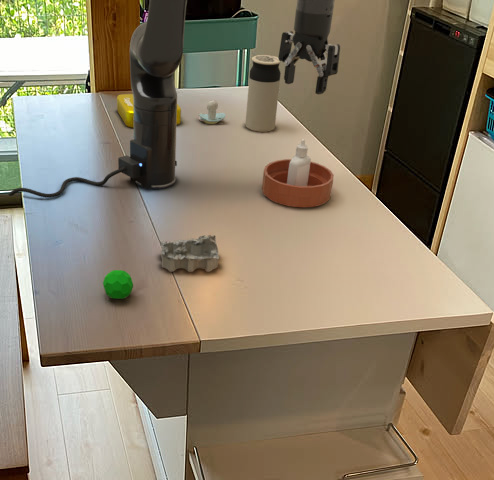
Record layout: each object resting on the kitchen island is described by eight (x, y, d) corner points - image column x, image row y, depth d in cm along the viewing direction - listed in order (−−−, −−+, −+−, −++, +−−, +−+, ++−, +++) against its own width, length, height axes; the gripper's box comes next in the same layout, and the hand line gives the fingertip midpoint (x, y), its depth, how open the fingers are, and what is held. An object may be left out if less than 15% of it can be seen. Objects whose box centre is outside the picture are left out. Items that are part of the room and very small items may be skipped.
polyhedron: (123, 285, 123) (122, 261, 121) (138, 298, 120) (138, 274, 118) (98, 294, 121) (97, 270, 118) (113, 307, 118) (112, 283, 115)
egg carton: (216, 253, 134) (218, 234, 132) (218, 274, 128) (220, 254, 126) (160, 251, 134) (160, 232, 131) (159, 272, 128) (160, 252, 125)
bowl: (299, 215, 149) (302, 193, 147) (247, 190, 158) (249, 169, 155) (344, 196, 158) (347, 175, 155) (292, 174, 167) (295, 153, 164)
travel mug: (250, 133, 188) (257, 63, 177) (241, 122, 194) (246, 54, 184) (278, 131, 190) (286, 62, 179) (268, 121, 196) (275, 54, 186)
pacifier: (194, 118, 195) (200, 125, 190) (195, 95, 192) (201, 102, 187) (220, 117, 197) (226, 124, 192) (221, 94, 193) (228, 101, 189)
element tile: (115, 109, 197) (115, 92, 195) (168, 107, 201) (168, 90, 199) (127, 128, 186) (127, 110, 183) (182, 125, 190) (183, 107, 187)
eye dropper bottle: (311, 194, 157) (319, 142, 150) (288, 197, 155) (295, 144, 149) (303, 186, 160) (310, 135, 154) (280, 189, 159) (286, 137, 152)
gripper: (276, 3, 146) (268, 83, 155) (331, 17, 138) (319, 100, 147) (299, -1, 150) (290, 77, 160) (354, 13, 142) (341, 94, 152)
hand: (304, 88), depth 153 cm, fingers open, 8 cm apart
